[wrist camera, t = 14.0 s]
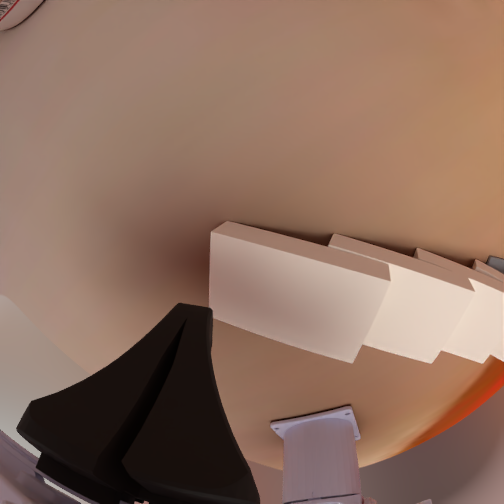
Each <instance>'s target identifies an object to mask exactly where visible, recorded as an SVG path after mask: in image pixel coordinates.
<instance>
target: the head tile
mask: <svg viewBox="0 0 504 504" xmlns="http://www.w3.org/2000/svg"><path fill="white" fill-rule="evenodd" d="M390 282H391V278H390V271H389V264H387V263H383V262H380V261H376V260H373V259H369V258H366V257H362V256H359V255H355V254H352V253H348V252H344V251H341V250H337V249H334V248H330V247H326V246H323V245H319V244H315V243H312V242H308V241H304V240H300V239H297V238H293V237H289V236H285V235H281V234H278V233H274V232H270V231H266V230H262V229H258V228H254V227H250V226H246V225H242V224H238V223H234V222H230V221H226V222H225V223H223V224H222V225H220V226H219V227H217V228H216V229H214V230H213V231H211V243H210V273H209V308H211V309H212V310H213V318H215V319H217V320H220V321H222V322H225V323H228V324H230V325H233V326H236V327H238V328H241V329H244V330H247V331H249V332H252V333H255V334H258V335H261V336H264V337H266V338H269V339H272V340H275V341H278V342H281V343H284V344H288V345H291V346H294V347H297V348H300V349H303V350H307V351H310V352H313V353H317V354H320V355H323V356H327V357H330V358H334V359H337V360H341V361H345V362H348V363H353V361H354V359H355V358H356V356H357V354H358V352H359V350H360V348H361V346H362V344H363V342H364V340H365V338H366V336H367V334H368V332H369V330H370V328H371V326H372V324H373V322H374V320H375V317H376V315H377V313H378V311H379V309H380V306H381V304H382V302H383V299H384V297H385V295H386V292H387V290H388V287H389V285H390Z"/></svg>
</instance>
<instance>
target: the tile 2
mask: <svg viewBox="0 0 504 504" xmlns="http://www.w3.org/2000/svg"><path fill="white" fill-rule="evenodd" d="M328 247H330V248H334V249H337V250H341V251H344V252H348V253H352V254H355V255H359V256H362V257H366V258H369V259H373V260H376V261H380V262H383V263H387V264H389V271H390V278H391V282H390V285H389V287H388V290H387V292H386V295H385V297H384V299H383V302H382V304H381V306H380V309H379V311H378V313H377V315H376V317H375V320H374V322H373V324H372V326H371V328H370V330H369V332H368V334H367V336H366V338H365V340H364V342H363V345H366V346H370V347H373V348H376V349H380V350H383V351H387V352H390V353H393V354H397V355H401V356H404V357H408V358H411V359H415V360H419V361H423V362H426V363H430V364H432V363H433V361H434V360H435V358H436V357H437V356H438V354H439V353H440V351H441V350H442V348H443V347H444V345H445V344H446V342H447V341H448V339H449V338H450V336H451V334H452V333H453V331H454V330H455V328H456V326H457V325H458V323H459V321H460V320H461V318H462V316H463V314H464V313H465V311H466V309H467V307H468V305H469V304H470V302H471V300H472V298H473V296H474V294H475V290H474V288H473V286H472V284H471V282H470V280H469V278H468V277H467V276H464V275H461V274H459V273H456V272H453V271H450V270H447V269H445V268H442V267H439V266H436V265H433V264H430V263H427V262H424V261H421V260H418V259H415V258H412V257H409V256H406V255H403V254H400V253H397V252H394V251H391V250H388V249H385V248H381V247H378V246H375V245H372V244H369V243H365V242H362V241H359V240H356V239H352V238H349V237H346V236H342V235H339V234H333V236H332V238H331V240H330V243H329V245H328Z"/></svg>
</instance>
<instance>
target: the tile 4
mask: <svg viewBox="0 0 504 504" xmlns="http://www.w3.org/2000/svg"><path fill="white" fill-rule="evenodd" d="M471 269H473V270H475V271H477V272H480V273H482V274H484V275H487V276H489V277H491V278H494V279H496V280H498V281H500V282H502V283H504V274H502V273H501V272H499V271H497V270H495V269H494V268H492V267H490V266H488V265H486V264H484V263H483V262H481V261H479V260H477V259H475V261H474V264H473V266H472V268H471ZM491 355H493V356H495V357H496V358H498V359H500V360H502V361H503V362H504V335H503V336H502V338H501V339H500V341H499V342H498V344H497V345H496V347H495V348H494V349H493V351H492V352H491Z"/></svg>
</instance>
